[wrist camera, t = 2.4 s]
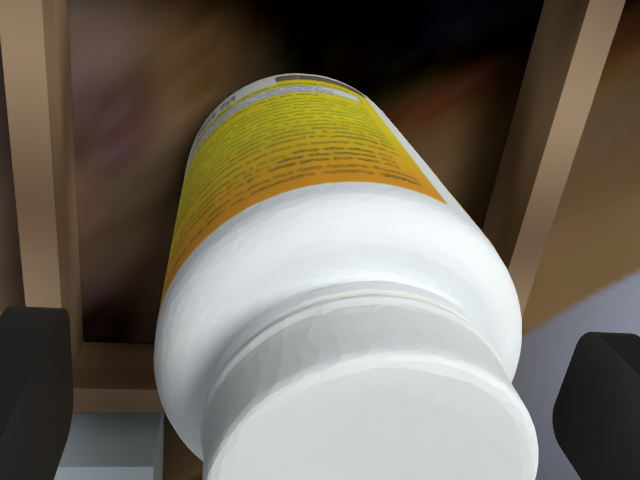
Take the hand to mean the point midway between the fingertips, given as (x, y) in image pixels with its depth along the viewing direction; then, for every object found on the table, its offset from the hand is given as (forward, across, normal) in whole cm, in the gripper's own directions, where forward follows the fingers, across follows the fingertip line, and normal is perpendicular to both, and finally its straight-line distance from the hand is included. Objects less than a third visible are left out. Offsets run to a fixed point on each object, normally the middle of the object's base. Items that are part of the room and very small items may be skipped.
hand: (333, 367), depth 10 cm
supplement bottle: (+8, 0, 0) cm, 8 cm away
